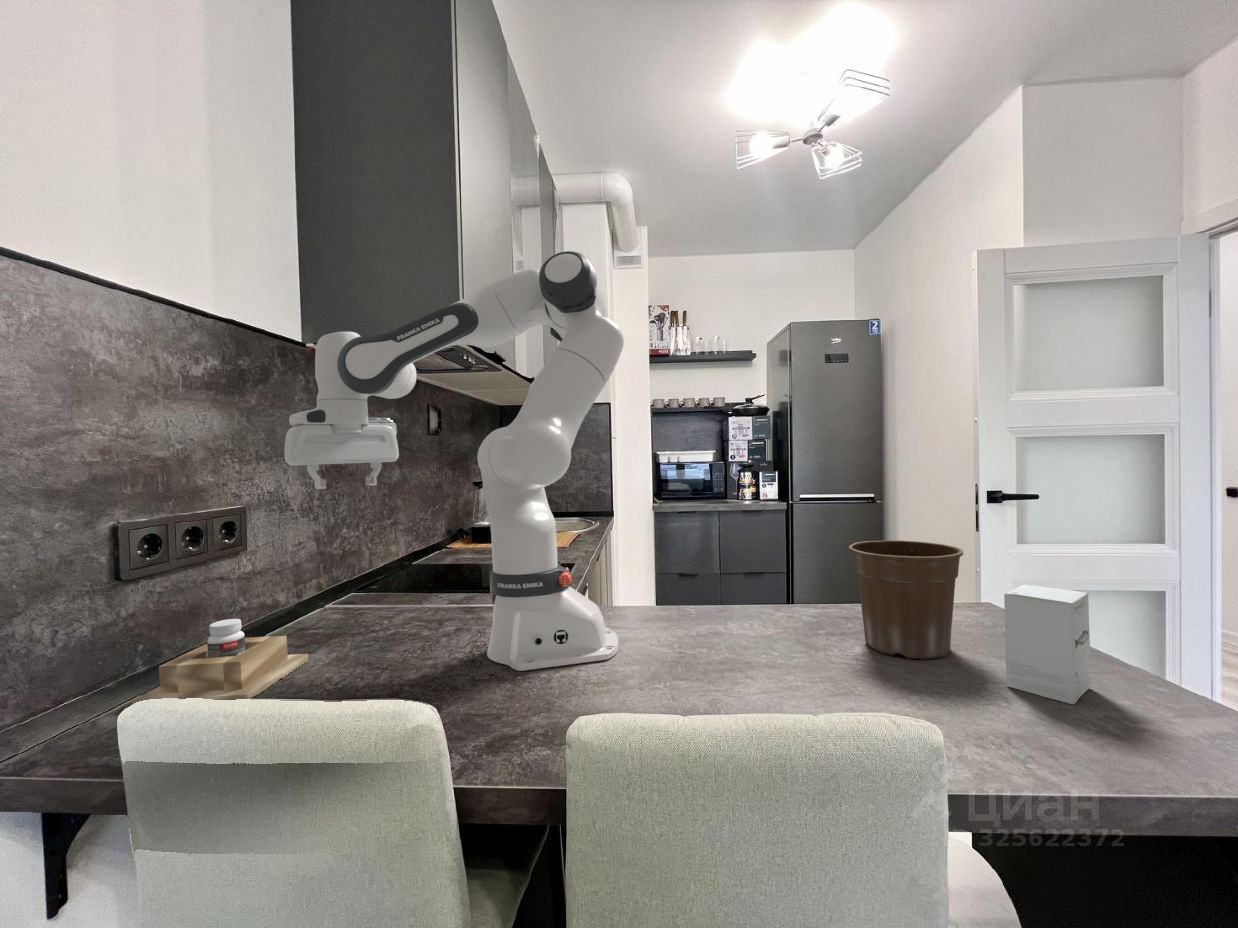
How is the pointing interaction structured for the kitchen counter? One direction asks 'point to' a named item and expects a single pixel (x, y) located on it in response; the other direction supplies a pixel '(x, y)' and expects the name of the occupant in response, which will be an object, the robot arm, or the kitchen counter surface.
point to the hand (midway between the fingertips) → (346, 487)
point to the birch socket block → (226, 671)
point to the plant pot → (907, 595)
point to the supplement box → (1048, 642)
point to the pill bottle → (226, 639)
